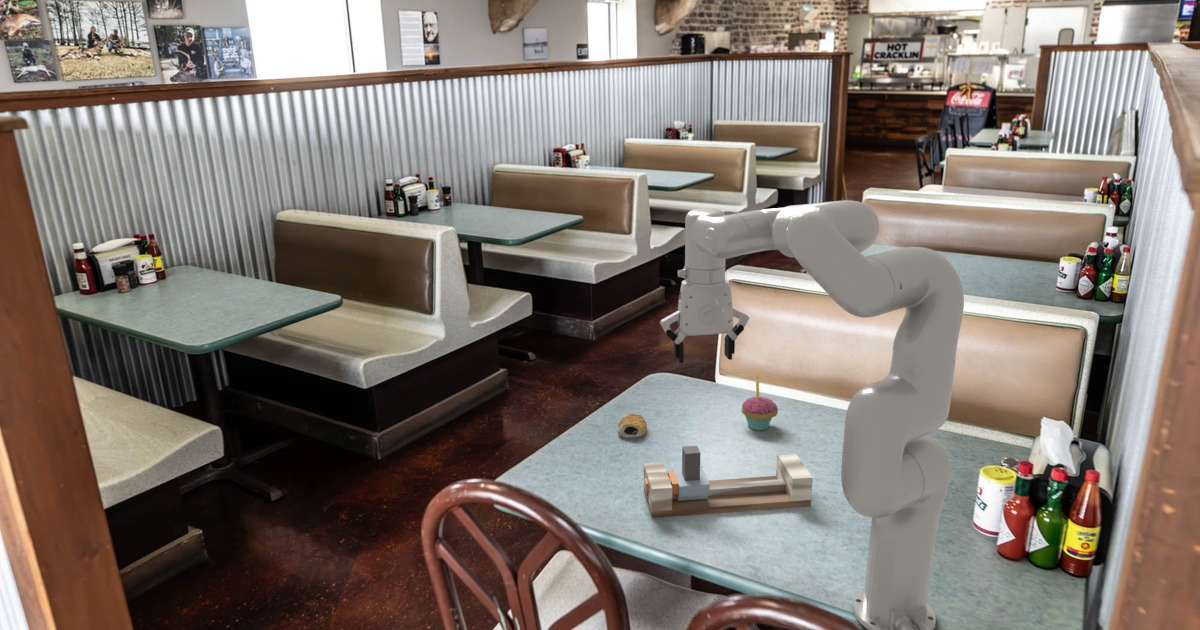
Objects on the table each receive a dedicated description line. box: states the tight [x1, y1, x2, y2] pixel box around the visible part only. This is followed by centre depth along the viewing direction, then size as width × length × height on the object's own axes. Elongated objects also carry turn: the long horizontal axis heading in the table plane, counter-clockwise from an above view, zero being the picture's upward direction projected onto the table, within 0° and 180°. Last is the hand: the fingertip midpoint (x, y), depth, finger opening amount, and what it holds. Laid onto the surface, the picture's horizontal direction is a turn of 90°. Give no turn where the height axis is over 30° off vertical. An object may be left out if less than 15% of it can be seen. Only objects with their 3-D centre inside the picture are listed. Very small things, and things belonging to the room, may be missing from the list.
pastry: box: [617, 413, 648, 438], centre depth 196 cm, size 9×7×4 cm
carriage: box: [672, 445, 710, 501], centre depth 163 cm, size 7×6×10 cm
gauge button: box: [645, 470, 678, 495], centre depth 164 cm, size 5×6×2 cm
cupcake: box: [741, 376, 779, 431], centre depth 195 cm, size 9×8×12 cm
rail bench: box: [643, 452, 814, 519], centre depth 165 cm, size 10×32×6 cm, turn 96°
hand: (704, 359), depth 160 cm, fingers open, 9 cm apart
